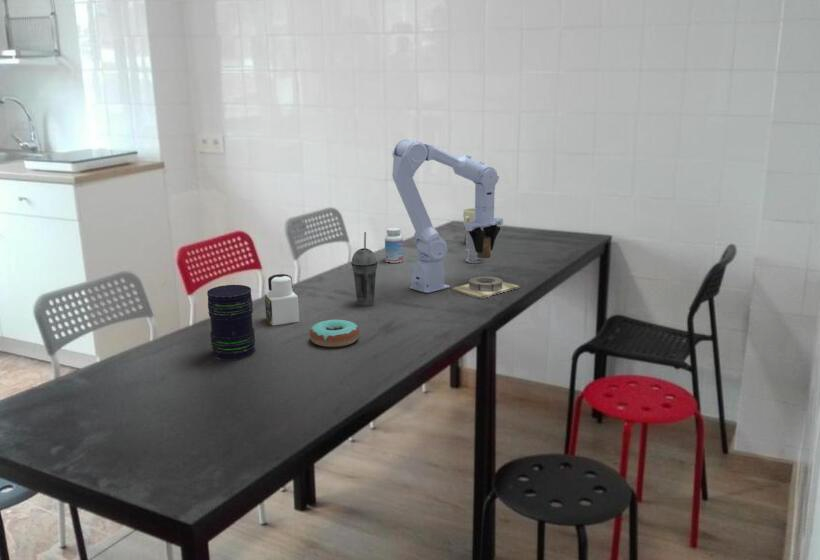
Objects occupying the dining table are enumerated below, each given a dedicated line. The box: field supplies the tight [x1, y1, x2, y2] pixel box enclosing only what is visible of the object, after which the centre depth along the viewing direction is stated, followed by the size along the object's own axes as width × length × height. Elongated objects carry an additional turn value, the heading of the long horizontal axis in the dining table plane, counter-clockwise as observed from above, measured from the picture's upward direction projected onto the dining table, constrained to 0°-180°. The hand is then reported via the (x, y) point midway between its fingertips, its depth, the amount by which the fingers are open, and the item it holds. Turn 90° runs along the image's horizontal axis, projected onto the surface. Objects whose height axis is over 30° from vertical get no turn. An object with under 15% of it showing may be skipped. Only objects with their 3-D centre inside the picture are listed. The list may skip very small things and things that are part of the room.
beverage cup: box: [350, 231, 378, 307], centre depth 209 cm, size 7×7×20 cm
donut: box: [309, 319, 360, 348], centre depth 182 cm, size 12×12×4 cm
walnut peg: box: [477, 236, 492, 259], centre depth 230 cm, size 4×4×6 cm
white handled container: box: [264, 273, 300, 327], centre depth 196 cm, size 7×7×12 cm
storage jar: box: [206, 284, 256, 361], centre depth 173 cm, size 10×10×15 cm
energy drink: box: [465, 228, 483, 264], centre depth 255 cm, size 5×5×12 cm
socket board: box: [451, 275, 520, 300], centre depth 223 cm, size 16×12×3 cm
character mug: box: [462, 207, 475, 245], centre depth 280 cm, size 11×7×13 cm, turn 144°
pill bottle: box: [384, 227, 404, 264], centre depth 257 cm, size 6×6×11 cm
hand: (483, 251), depth 230 cm, fingers closed on walnut peg, 4 cm apart
